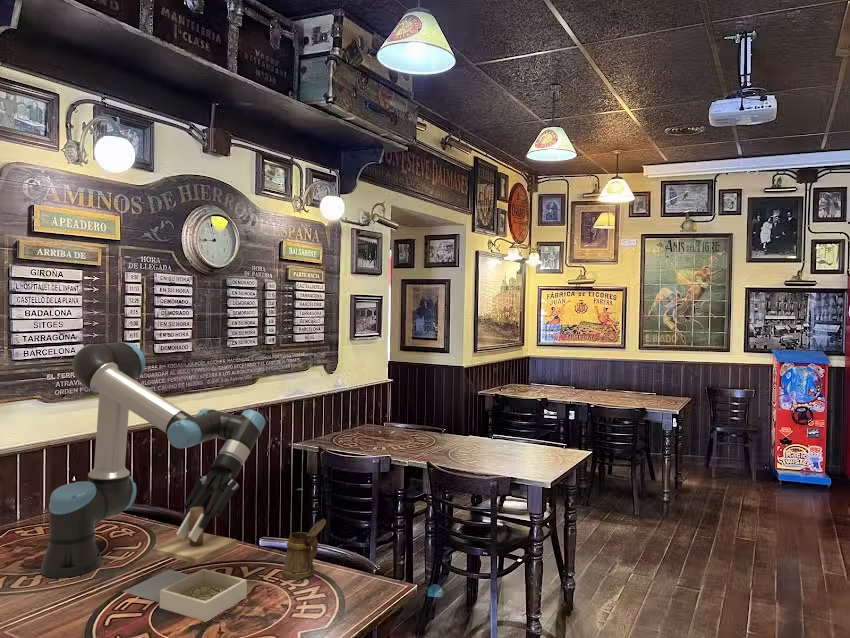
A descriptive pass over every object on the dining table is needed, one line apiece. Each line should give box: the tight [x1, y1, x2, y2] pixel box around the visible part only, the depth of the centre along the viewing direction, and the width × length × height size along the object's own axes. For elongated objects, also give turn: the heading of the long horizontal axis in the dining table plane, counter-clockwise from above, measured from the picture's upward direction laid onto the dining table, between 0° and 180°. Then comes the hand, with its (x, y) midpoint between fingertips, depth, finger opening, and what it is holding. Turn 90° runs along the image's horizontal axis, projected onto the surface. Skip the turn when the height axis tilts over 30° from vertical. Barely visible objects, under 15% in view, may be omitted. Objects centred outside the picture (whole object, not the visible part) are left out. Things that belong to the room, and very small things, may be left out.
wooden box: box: [159, 568, 248, 623], centre depth 162 cm, size 15×15×5 cm
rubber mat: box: [122, 569, 191, 604], centre depth 171 cm, size 15×16×1 cm
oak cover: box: [153, 506, 238, 564], centre depth 165 cm, size 14×14×11 cm
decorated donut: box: [183, 585, 225, 601], centre depth 162 cm, size 10×11×4 cm
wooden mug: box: [281, 518, 327, 581], centre depth 181 cm, size 9×14×18 cm, turn 58°
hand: (186, 537), depth 162 cm, fingers closed on oak cover, 3 cm apart
